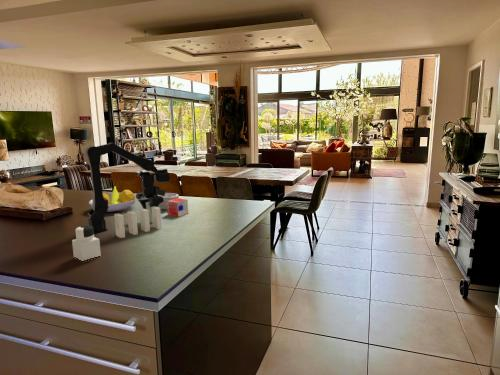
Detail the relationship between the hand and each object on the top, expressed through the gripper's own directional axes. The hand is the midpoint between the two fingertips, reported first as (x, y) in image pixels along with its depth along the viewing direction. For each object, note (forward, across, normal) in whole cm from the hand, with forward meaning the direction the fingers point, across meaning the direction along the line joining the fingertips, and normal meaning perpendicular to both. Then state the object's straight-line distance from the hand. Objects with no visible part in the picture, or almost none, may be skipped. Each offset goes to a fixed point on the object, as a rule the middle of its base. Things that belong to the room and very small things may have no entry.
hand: (150, 214), depth 174 cm
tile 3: (+4, -11, +9) cm, 15 cm away
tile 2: (+4, -11, +15) cm, 19 cm away
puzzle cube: (+4, +3, -18) cm, 19 cm away
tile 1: (+4, -11, +21) cm, 24 cm away
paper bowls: (+4, +21, -21) cm, 30 cm away
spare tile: (+4, 0, 0) cm, 4 cm away
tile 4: (+4, -11, +3) cm, 12 cm away
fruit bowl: (+4, +42, +1) cm, 43 cm away
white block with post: (+4, -26, +40) cm, 48 cm away
